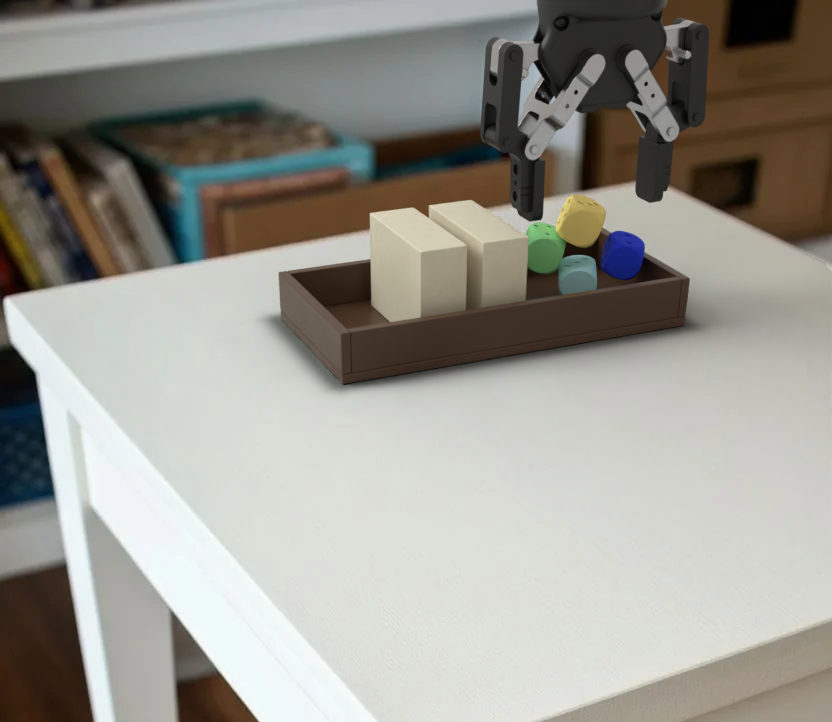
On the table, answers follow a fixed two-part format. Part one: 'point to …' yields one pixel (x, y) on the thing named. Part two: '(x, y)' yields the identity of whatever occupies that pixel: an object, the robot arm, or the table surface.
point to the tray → (471, 317)
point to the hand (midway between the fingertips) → (589, 208)
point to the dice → (582, 230)
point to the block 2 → (486, 253)
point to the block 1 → (415, 266)
